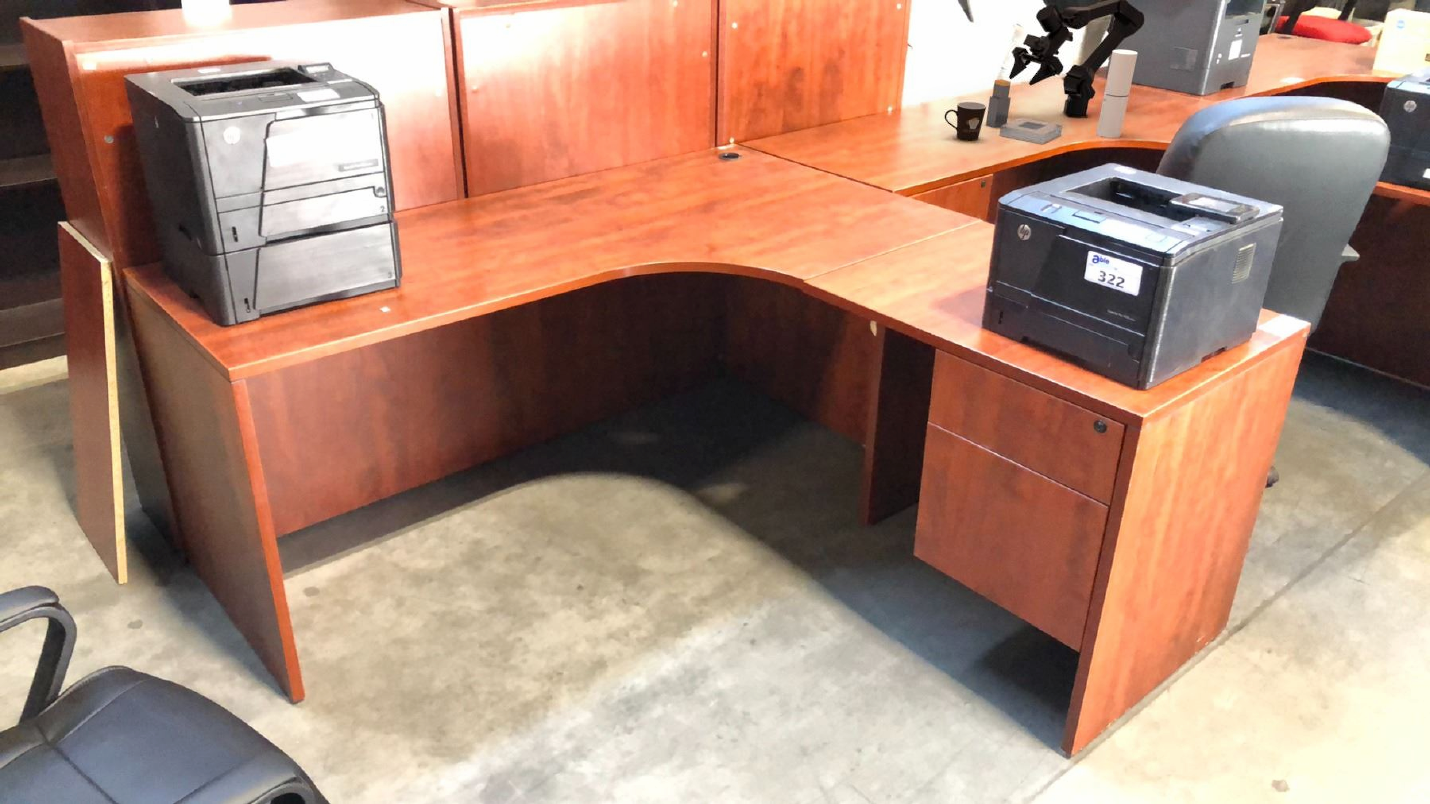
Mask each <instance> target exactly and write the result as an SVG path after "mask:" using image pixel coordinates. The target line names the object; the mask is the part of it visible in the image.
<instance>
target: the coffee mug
mask: <svg viewBox="0 0 1430 804" xmlns="http://www.w3.org/2000/svg"><path fill="white" fill-rule="evenodd" d="M956 106H957V107H956V108H957V109H956V110H955V109H949V110H947V111H945V113H944V119H945V121H946V123H947V124H948V125H950V126H951V127H953V129H955V130H956V139H957V140H960V141H963V142H975V141H978V140H979V137H980V134H981V133H980V132H981V129H982V125H983V123H984V122H983V121H984V117H985V114H986V109H987V105H986V104H984V103H981V102H975V101H961V102H958V103H957V105H956ZM952 112H953V113H954V114H955V116H956V126H955V125H954V124H952V123H951V121H949V120H948V119H947V116H948V114H949V113H952Z"/></svg>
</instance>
